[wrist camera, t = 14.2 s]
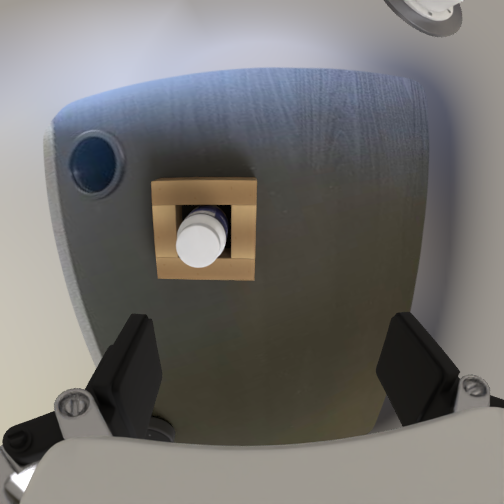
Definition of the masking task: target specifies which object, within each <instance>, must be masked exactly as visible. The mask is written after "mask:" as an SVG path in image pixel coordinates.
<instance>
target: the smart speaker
mask: <svg viewBox="0 0 504 504" xmlns="http://www.w3.org/2000/svg"><path fill="white" fill-rule="evenodd" d="M174 438H175V431H174V429H173V427H172V426H171V425H170V424H169V423H167V422H166V421H164V420H162V419H159V418H155V417H151V418H150V422H149V425H148V429H147V433H146V436H145V440H153V441H162V442H171V443H173V442H174Z"/></svg>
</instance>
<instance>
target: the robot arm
mask: <svg viewBox="0 0 504 504" xmlns="http://www.w3.org/2000/svg"><path fill="white" fill-rule="evenodd" d="M403 1H404V2H405V3H406V4H407V5H408V6H409V7H410V8H412V9H413V10H414V11H416V12H417V13H418V14H420V15H422V16H423V17H426V18H428V19H430V20H434V21H444V20H446V19H448V18H449V17H451V15H452V13H453V6H454V5H456V4H458V3H460V2H462V1H464V0H403ZM376 373H377V376H378V378H379V380H380V382H381V384H382V386H383V388H384V390H385V392H386V394H387V396H388V398H389V400H390V401H391V404H392V406H393V408H394V409H395V412H396V414H397V416H398V418H399V420H400V422H401V424H402V426H403V427H401V428H396V429H393V430H388V431H383V432H378V433H373V434H368V435H362V436H356V437H350V438H344V439H337V440H330V441H321V442H312V443H301V444H288V445H268V446H216V445H198V444H183V443H171V442H162V441H153V440H145V436H146V433H147V429H148V425H149V422H150V418H151V415H152V411H153V408H154V404H155V401H156V397H157V394H158V391H159V387H160V384H161V380H162V369H161V364H160V360H159V354H158V349H157V344H156V338H155V333H154V327H153V321H152V319H149V318H148V317H147V315H146V314H131V315H130V317H129V319H128V320H127V322H126V324H125V326H124V327H123V329H122V331H121V332H120V334H119V336H118V337H117V339H116V341H115V343H114V344H113V345H110V346H109V348H108V349H107V351H106V352H105V354H104V356H103V358H102V359H101V361H100V363H99V365H98V367H97V368H96V370H95V372H94V374H93V375H92V377H91V379H90V381H89V383H88V385H87V387H86V388H85V390H84V389H80V388H79V389H78V388H74V389H69V390H66V391H64V392H62V393H61V394H60V395H59V396H58V397H57V398H56V400H55V403H54V410H55V411H53V412H50V413H48V414H45V415H43V416H40V417H37V418H34V419H32V420H29V421H26V422H24V423H21V424H18V425H15V426H13V427H11V428H9V429H8V430H7V431H6V433H5V434H4V437H3V445H1V446H0V504H504V400H503V399H500V398H497V397H494V396H491V395H490V387H489V386H488V384H487V382H486V381H485V380H484V379H482V378H481V377H478V376H476V375H465V376H463V377H462V378H461V379H460V378H459V377H458V375H459V373H460V371H459V370H458V368H457V367H456V366H455V364H454V363H453V362H452V361H451V359H450V358H449V357H448V356H447V354H446V353H445V352H444V351H443V350H442V348H441V347H440V346H439V345H438V344H437V342H436V341H435V340H434V339H433V338H432V337H431V335H430V334H429V333H428V332H427V331H426V329H425V328H424V327H423V326H422V325H421V324H420V323H419V321H418V320H417V319H416V318H415V317H414V316H413V315H412V314H411V313H410V312H401V313H396V315H395V316H394V317H392V319H391V322H390V325H389V329H388V332H387V336H386V339H385V342H384V346H383V349H382V352H381V355H380V358H379V361H378V364H377V367H376Z"/></svg>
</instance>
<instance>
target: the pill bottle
mask: <svg viewBox="0 0 504 504" xmlns="http://www.w3.org/2000/svg"><path fill="white" fill-rule="evenodd" d="M228 226H229V225H228V219H227V217H226V215H225V213H224V212H223V211H222V210H221V209H220V208H218V207H217V206H214V205H200V206H198V207H196V208H195V209H193V210H192V211H191V212H190V213H189V215H188V216H187V217H186V218H185V220H184V221H183V222H182V224H181V225H180V227H179V229H178V232H177V241H176V250H177V253H178V256H179V257H180V259H181V260H182V261H183V262H184V263H185V264H187V265H189V266H191V267H196V268H202V267H206V266H208V265H210V264H212V263H213V262H214V261H215V260H216V258H217V257H218V256H219V255H220V254H221V253H222V251H223V249H224V247H225V244H226V238H227V233H228Z"/></svg>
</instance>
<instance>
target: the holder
mask: <svg viewBox="0 0 504 504" xmlns="http://www.w3.org/2000/svg"><path fill="white" fill-rule="evenodd" d="M151 189H152V210H153V227H154V240H155V253H156V264H157V274H158V278H163V279H201V280H254V274H255V239H256V203H257V179H256V177H178V178H159V179H156V180H154V181H151ZM182 205H231V248H224V249H223V251H222V253H221V254H220V255H219V256H218V257H217V258H216V260H215V261H214V262H213V263H212V264H210V265H208V266H206V267H202V268H196V267H191V266H189V265H187V264H185V263H184V262H183V261H182V260H181V259H180V257H179V256H178V253H177V250H176V241H177V232H178V229H179V227H180V225H181V224H182Z"/></svg>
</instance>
